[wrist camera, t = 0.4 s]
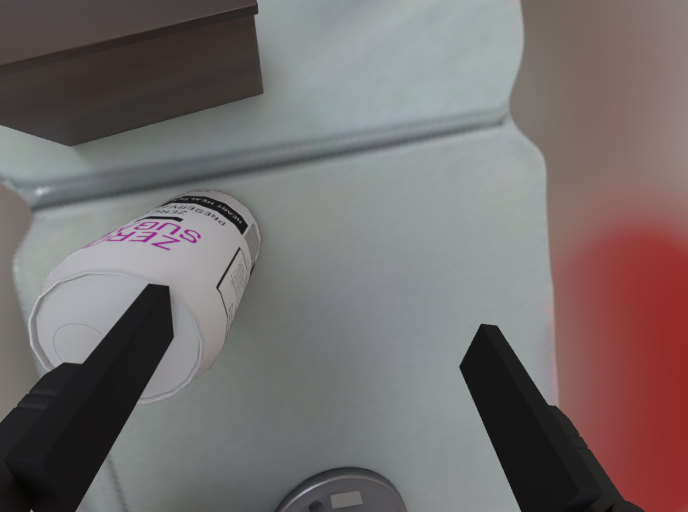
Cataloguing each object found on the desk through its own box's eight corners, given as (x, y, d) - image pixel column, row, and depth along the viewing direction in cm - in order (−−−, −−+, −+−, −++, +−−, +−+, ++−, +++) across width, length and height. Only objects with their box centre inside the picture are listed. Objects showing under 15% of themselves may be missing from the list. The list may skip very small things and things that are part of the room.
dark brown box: (266, 94, 29) (258, 5, 16) (68, 150, 26) (-121, 94, 14) (244, 28, 28) (216, -122, 15) (35, 80, 25) (-201, -48, 13)
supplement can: (201, 294, 30) (110, 439, 16) (140, 216, 27) (-38, 314, 13) (279, 253, 29) (252, 369, 16) (224, 169, 26) (130, 220, 12)
